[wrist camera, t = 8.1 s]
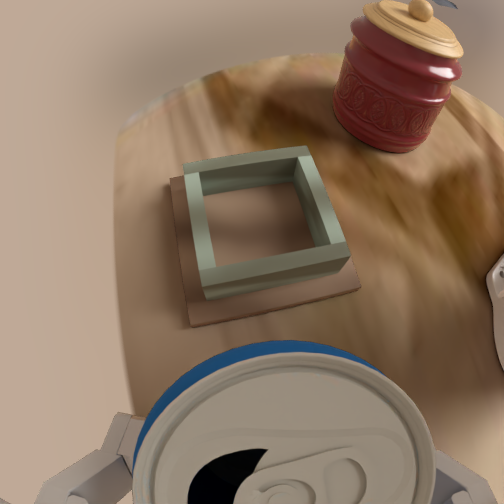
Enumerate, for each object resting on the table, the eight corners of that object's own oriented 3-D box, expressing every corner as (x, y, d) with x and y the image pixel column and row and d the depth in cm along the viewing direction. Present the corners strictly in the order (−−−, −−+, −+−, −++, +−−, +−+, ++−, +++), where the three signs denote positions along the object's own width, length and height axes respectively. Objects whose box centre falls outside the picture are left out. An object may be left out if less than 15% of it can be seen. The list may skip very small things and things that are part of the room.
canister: (441, 152, 34) (504, 46, 18) (358, 160, 32) (414, 18, 16) (393, 87, 39) (429, -11, 23) (314, 88, 38) (338, -32, 22)
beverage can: (187, 385, 16) (81, 357, 5) (304, 361, 17) (412, 291, 6) (212, 494, 13) (166, 628, 2) (330, 468, 14) (461, 551, 3)
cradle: (171, 184, 30) (162, 154, 26) (309, 162, 32) (317, 131, 28) (192, 327, 25) (182, 313, 21) (357, 290, 26) (377, 271, 22)
